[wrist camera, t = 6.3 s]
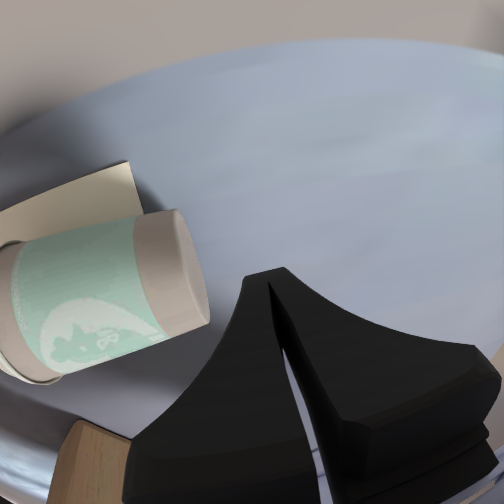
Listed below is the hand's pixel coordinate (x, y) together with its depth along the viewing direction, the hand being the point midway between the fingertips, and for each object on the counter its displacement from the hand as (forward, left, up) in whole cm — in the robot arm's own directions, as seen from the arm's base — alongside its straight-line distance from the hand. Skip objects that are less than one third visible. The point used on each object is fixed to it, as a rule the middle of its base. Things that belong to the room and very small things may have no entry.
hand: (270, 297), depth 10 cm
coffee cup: (-2, +2, -5) cm, 6 cm away
